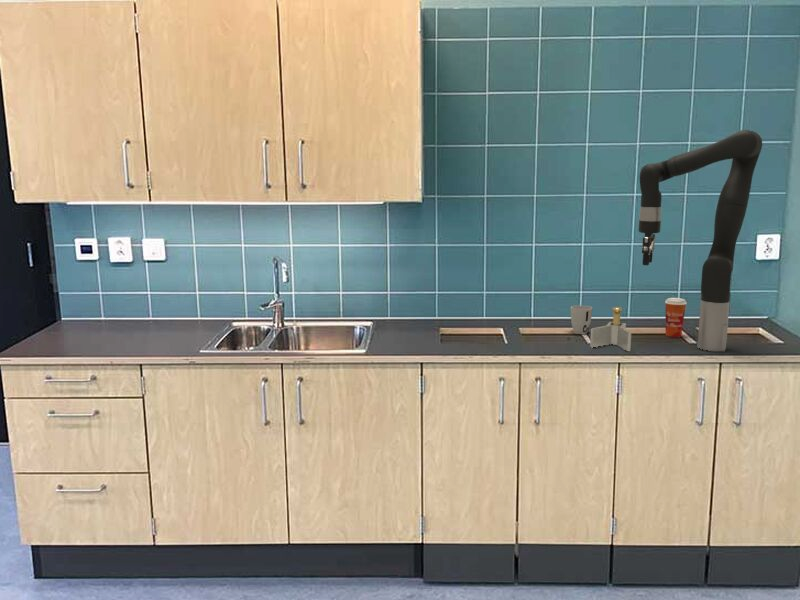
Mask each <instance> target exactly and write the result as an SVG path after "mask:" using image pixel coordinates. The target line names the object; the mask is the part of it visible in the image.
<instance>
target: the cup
mask: <svg viewBox="0 0 800 600" xmlns="http://www.w3.org/2000/svg"><path fill="white" fill-rule="evenodd" d="M592 314H593V307H592V306H589V305H583V304H582V305H581V304H579V305H572V306H570V321H571V326H572V327H571V328H572V332H573V333H574V334H577V335H586V334H585V333H587V334H588V332H589V329H590V327H591V322H592V317H593V315H592Z"/></svg>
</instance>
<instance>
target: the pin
mask: <svg viewBox="0 0 800 600" xmlns="http://www.w3.org/2000/svg"><path fill="white" fill-rule="evenodd" d="M611 311H612V312H613V313H612V314H613V318H612V322H613V325H617V326H620V323H621V312H623V307H620V306H613V307H611Z"/></svg>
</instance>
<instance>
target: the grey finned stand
mask: <svg viewBox="0 0 800 600" xmlns="http://www.w3.org/2000/svg"><path fill="white" fill-rule="evenodd" d="M626 327H627V323H625V322H620V326H617V325H613V321H609V322H608V323H607V324H606V325H602V326H597V327H593V328H590V340H589V341H590V342H589V348H590V347H591V348H590V349H594V348H593V347H596V348H599V347H598V346H601V347H604V346H603V345H606V346H609V344H610V345H611V344H613V345H614V346H618V347H619V348H621V349H622V350H624V351H625V350H626V351H630V352H631V346H632V345H631V344H632V331H630V330H628V329H626ZM613 345H612V346H613ZM626 351H625V352H626Z"/></svg>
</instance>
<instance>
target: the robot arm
mask: <svg viewBox="0 0 800 600" xmlns="http://www.w3.org/2000/svg"><path fill="white" fill-rule="evenodd" d="M762 148H763V140H762V137H761V135H760V134H758V132H755V131H753V130H749V129H741V130H739V131H737V132H735V133H733V134H731V135H728V136H727V137H725V138H723V139H720V140H718V141H716V142H715V143H711V144H709V145H706V146H702V147H701V148H697V149H693V150H690V151H687V152H683V153H680V154H677V155H674V156H672V157H670V158H668V159H667V160H662V161H659V162H656V163H655V162H654V163H647V164H645V165H643V167H642V168H641V170H640V172H639V187H640V195H641V196H640V197H641V198H640V208H639V216H638V232H639V233H642V234H644V236H642V238H641V239H642V241H641V242H642V245H641V254H642V265H643V266H649V265H650V263H652V262H653V253H654V251H655V242H656V234H659V233H661V226H662V225H661V224H662V192H661V191H660V183H662V182H665V181H667V180H670V179H672V178H674V177H679V176H683V175H686V174H689V173H692V172H695V171H698V170H700V169H703V168H705V167H707V166H709V165H712V164H715V163H718V162H722V161H726V160H732V161H731V165H730V171H729V174H728V176H727V179H726V181H725V183H724V185H723V186H722V189H721V191H720V194H719V197H718V200H717V205H716V209H715V216H714V227H713V228H714V229H713V240H712V245H711V247H710V250H709V254H708V256H707V259H706V260H705V261H704V262H703V266H702V267H701V268H702V269H701V283H700V295H701V296H700V308H699V318H698V319H699V320H698V321H699V322H698V332H697V333H698V334H697V346H696V347H697V349H699V348H700V349H699V350H702V349H703V351H706V350H708V351H707V352H726V351H725V350H727V340H728V327H729V313H730V301H731V282H732V281H731V280H732V273H733V269H734V259H735V251H736V246H737V245H736V244H737V240H738V238H739V235H740V232H741V230H742V226H743V223H744V220H745V217H746V213H747V208H748V204H749V200H750V199H749V198H750V194H751V187H752V183H753V182H752V181H753V176H754V172H755V168H756V167H757V163H758V159H759V157H760V154H761V152H762Z"/></svg>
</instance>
